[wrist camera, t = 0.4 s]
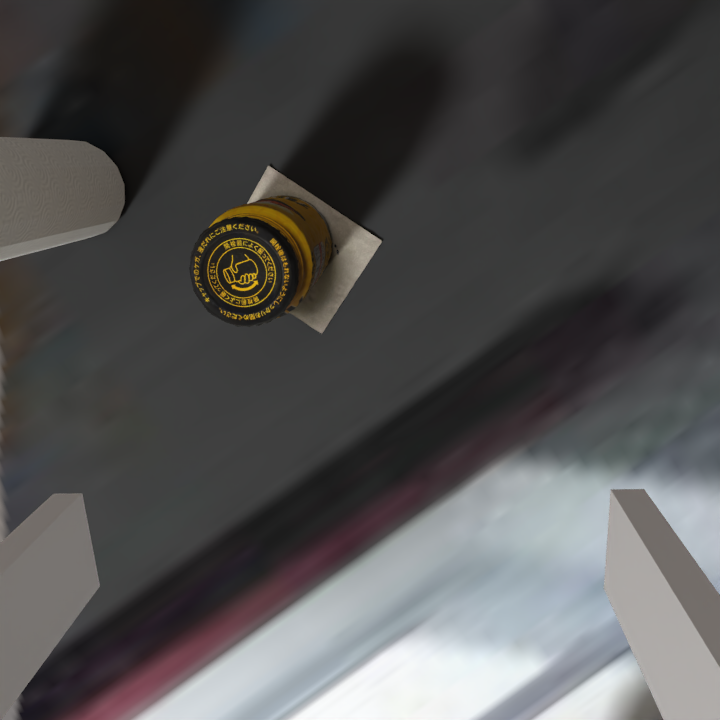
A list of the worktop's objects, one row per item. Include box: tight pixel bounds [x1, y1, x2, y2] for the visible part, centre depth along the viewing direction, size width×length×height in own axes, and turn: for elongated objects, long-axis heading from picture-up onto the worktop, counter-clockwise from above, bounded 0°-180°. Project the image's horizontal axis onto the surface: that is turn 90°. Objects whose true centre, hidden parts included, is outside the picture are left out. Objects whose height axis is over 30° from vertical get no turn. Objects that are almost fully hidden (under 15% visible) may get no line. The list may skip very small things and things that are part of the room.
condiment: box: [189, 166, 382, 333], centre depth 36 cm, size 7×8×12 cm
